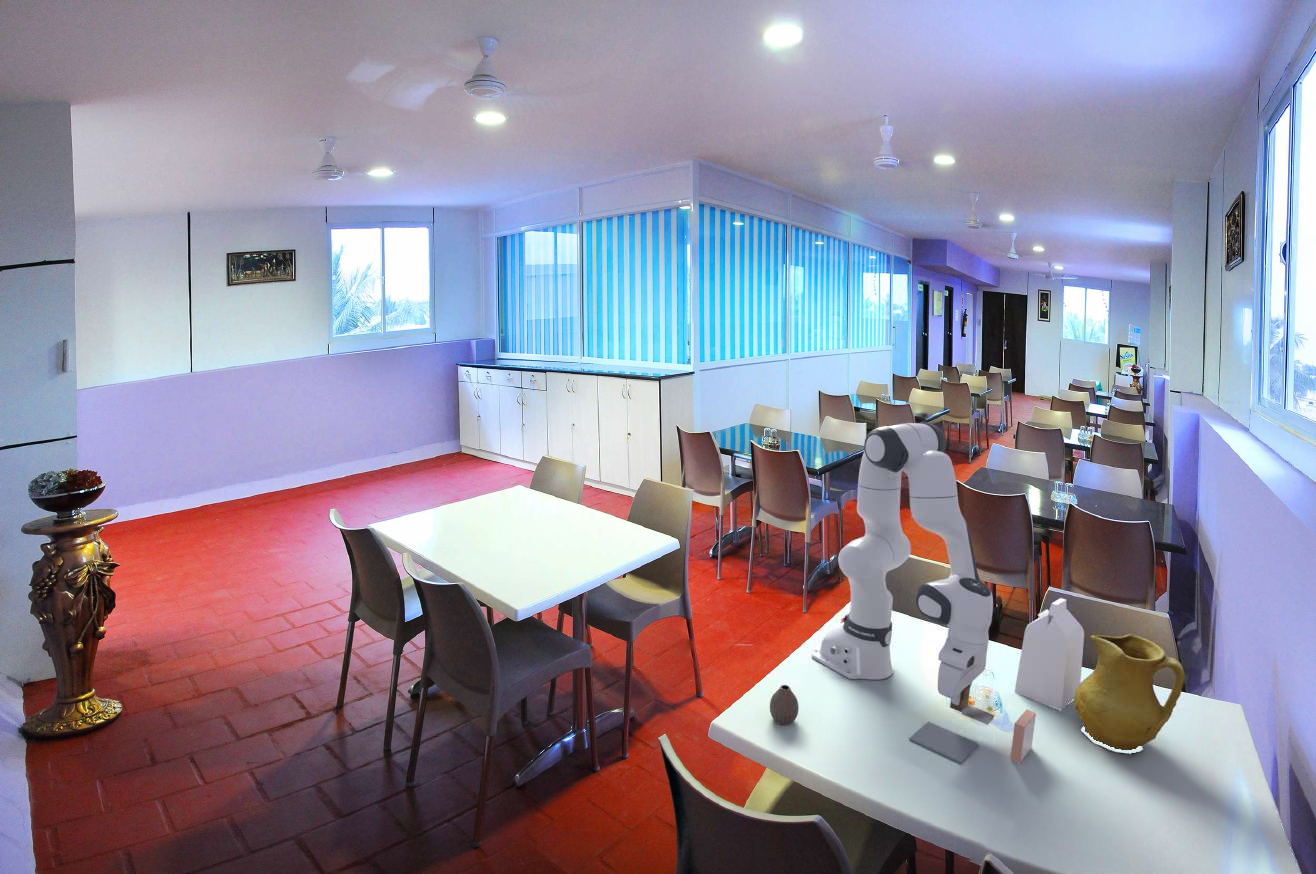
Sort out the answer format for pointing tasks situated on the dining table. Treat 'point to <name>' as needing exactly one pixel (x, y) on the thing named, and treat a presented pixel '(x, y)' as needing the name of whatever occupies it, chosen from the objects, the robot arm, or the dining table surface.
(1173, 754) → the dining table surface
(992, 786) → the dining table surface
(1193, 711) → the dining table surface
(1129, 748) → the pitcher
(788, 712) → the vase
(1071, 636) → the milk
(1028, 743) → the tile
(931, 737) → the pad
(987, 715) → the brown block
